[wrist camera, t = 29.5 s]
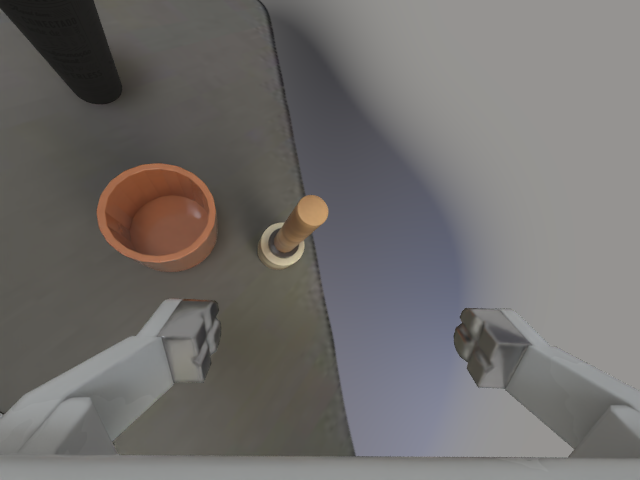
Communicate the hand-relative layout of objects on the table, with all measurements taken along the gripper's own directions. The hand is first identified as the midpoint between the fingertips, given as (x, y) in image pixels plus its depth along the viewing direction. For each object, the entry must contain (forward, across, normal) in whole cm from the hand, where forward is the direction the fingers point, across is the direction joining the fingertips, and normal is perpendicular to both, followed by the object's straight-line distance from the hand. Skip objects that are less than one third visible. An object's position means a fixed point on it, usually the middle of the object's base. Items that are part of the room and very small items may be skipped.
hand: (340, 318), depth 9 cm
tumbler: (+21, +16, +7) cm, 28 cm away
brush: (+23, +5, +10) cm, 25 cm away
